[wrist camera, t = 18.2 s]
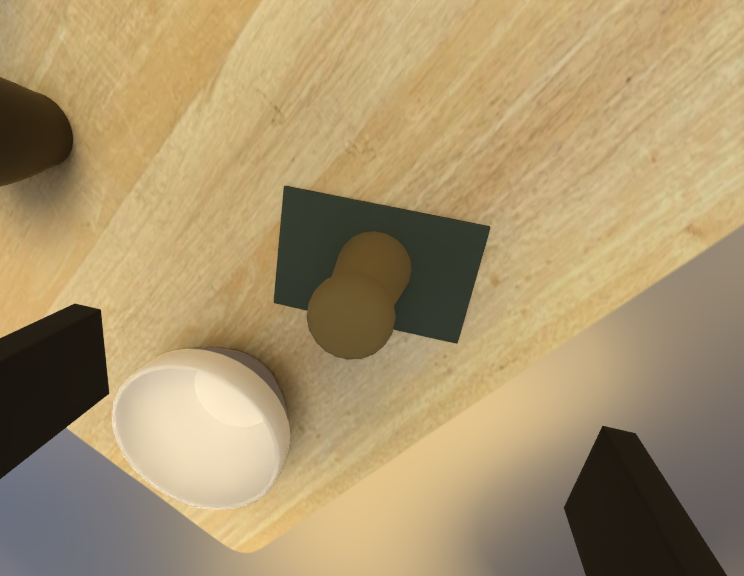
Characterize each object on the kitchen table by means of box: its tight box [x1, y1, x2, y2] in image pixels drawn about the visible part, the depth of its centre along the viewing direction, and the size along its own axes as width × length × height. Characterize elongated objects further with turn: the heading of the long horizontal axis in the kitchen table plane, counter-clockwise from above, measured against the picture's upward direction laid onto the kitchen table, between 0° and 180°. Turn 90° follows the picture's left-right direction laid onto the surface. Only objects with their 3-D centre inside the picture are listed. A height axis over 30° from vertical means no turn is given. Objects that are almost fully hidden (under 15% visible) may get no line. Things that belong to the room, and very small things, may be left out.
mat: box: [274, 186, 490, 344], centre depth 33 cm, size 16×10×1 cm, turn 80°
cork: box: [307, 231, 412, 359], centre depth 28 cm, size 6×6×11 cm
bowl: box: [111, 347, 290, 510], centre depth 36 cm, size 14×14×8 cm
